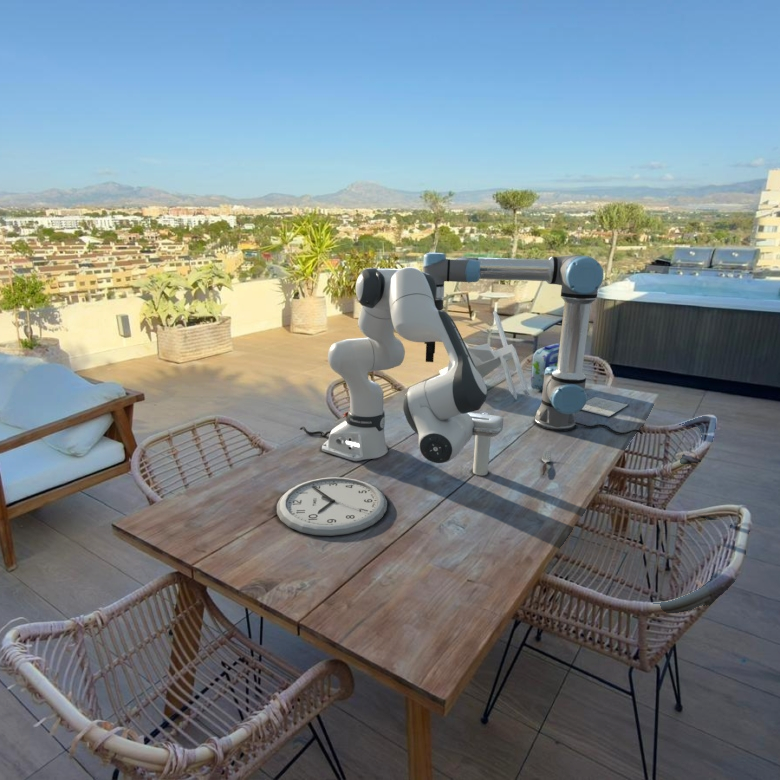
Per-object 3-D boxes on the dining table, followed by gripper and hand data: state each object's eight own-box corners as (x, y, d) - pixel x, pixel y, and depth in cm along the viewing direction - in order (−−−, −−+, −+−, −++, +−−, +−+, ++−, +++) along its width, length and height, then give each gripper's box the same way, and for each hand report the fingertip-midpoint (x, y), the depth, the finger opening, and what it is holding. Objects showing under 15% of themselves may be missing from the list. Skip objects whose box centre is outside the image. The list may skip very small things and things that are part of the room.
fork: (538, 475, 162) (539, 470, 161) (542, 455, 176) (543, 450, 175) (547, 477, 161) (547, 471, 160) (550, 457, 175) (551, 451, 174)
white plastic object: (461, 429, 252) (437, 405, 227) (444, 352, 274) (420, 323, 250) (535, 404, 240) (518, 377, 215) (510, 326, 262) (492, 293, 237)
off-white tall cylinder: (481, 477, 161) (485, 425, 156) (469, 471, 164) (473, 421, 159) (490, 472, 163) (494, 421, 158) (479, 467, 167) (483, 417, 162)
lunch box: (547, 395, 239) (552, 351, 233) (526, 390, 247) (530, 347, 240) (574, 384, 257) (579, 343, 251) (554, 380, 264) (558, 339, 258)
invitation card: (608, 416, 214) (573, 407, 224) (608, 416, 214) (573, 408, 224) (628, 404, 229) (594, 396, 238) (628, 405, 229) (594, 397, 238)
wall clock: (392, 527, 129) (268, 531, 127) (391, 533, 130) (269, 537, 127) (383, 473, 158) (282, 475, 155) (383, 478, 158) (282, 480, 156)
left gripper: (499, 420, 119) (509, 406, 132) (414, 410, 126) (431, 397, 139) (497, 446, 121) (507, 430, 133) (413, 434, 128) (430, 420, 140)
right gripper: (424, 293, 195) (422, 349, 202) (419, 302, 172) (417, 365, 178) (444, 294, 195) (441, 350, 201) (442, 303, 171) (439, 366, 177)
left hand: (467, 413), depth 136 cm, fingers open, 8 cm apart
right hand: (430, 357), depth 190 cm, fingers open, 13 cm apart
